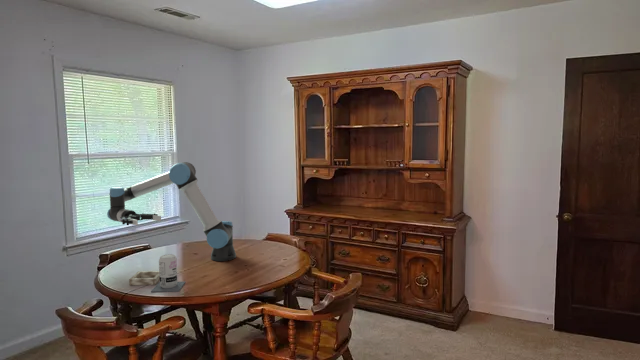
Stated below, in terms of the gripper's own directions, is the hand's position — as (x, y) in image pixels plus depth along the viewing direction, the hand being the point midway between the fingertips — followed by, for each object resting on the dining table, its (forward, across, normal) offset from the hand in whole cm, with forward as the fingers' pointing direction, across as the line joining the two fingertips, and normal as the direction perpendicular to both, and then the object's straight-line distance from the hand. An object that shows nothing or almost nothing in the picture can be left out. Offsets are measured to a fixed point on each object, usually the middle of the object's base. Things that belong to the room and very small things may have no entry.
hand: (149, 220), depth 223 cm
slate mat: (+23, +5, -30) cm, 38 cm away
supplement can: (+23, +5, -30) cm, 38 cm away
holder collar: (+5, +6, -30) cm, 31 cm away
